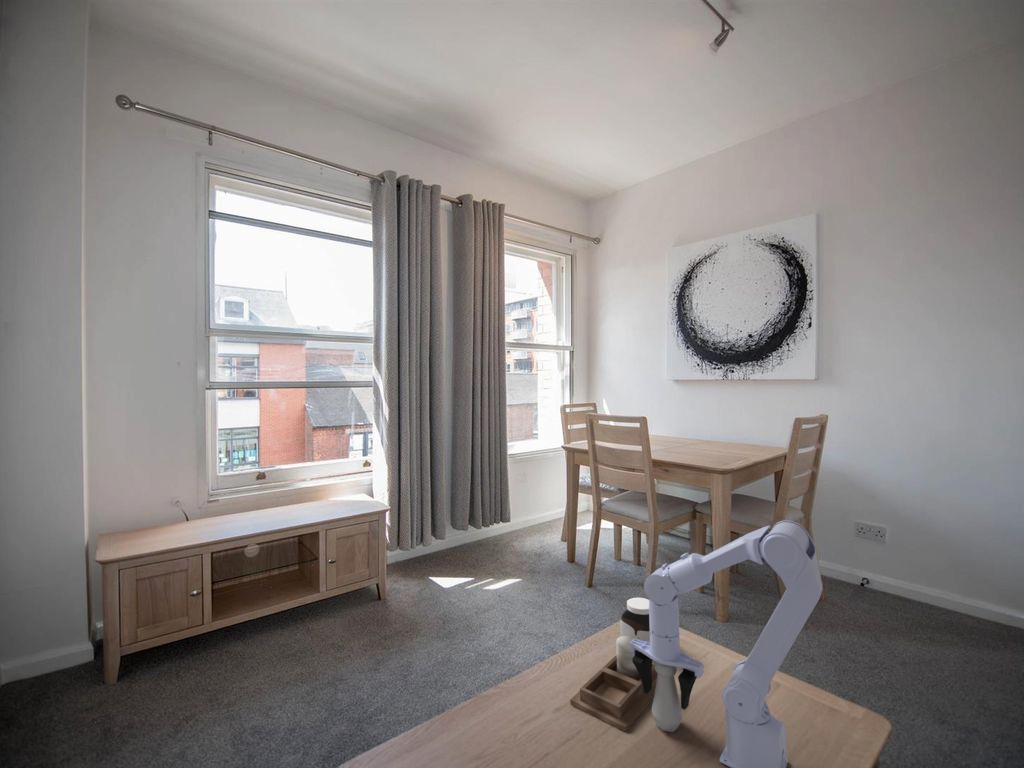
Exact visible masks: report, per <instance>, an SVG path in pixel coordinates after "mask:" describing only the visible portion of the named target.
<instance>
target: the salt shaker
mask: <svg viewBox="0 0 1024 768" xmlns="http://www.w3.org/2000/svg"><path fill="white" fill-rule="evenodd" d="M653 663H654V666H655V671H656V672H657V673H658V675H657V681H656V687H655V693H654V698H653V699H652V704H651V705H652V706H651V712H652V713H651V714H652V717H653V720H654V722H655V724H656V726H657V727H658V728H659V729H661V731H663V732H669V733H674V732H675V731H676V730H677V729H678V728H679V727H680V725H681V722H682V720H683V714H682V713H683V712H682V708H681V702H680V699H679V694H678V687H677V685H676V679H675V675H676V674H677V670H678V668H677V667H675V666H669V665H664V664H660V663H657V662H655V661H654V660H653Z"/></svg>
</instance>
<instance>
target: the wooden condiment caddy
mask: <svg viewBox="0 0 1024 768" xmlns="http://www.w3.org/2000/svg"><path fill="white" fill-rule="evenodd" d="M633 639H636V640H640V639H639V638H637V637H634V636H621V635H620V636H619V637H617V639H616V640H615V641H616V642H615V643H616V645H615V646H616V648H615V649H616V655H615V656H613V658H611V660H609V661H608V662H607V663H605V665H604V666H603V667H602V668H601V669H600V670H598V672H597V673H595V674H594V675H593V676H592V677H591V678H590V679H589V680H588V681H586V683H584V685H582V686H581V687H580V688H579V691H578V692H576V694H575V695H574V696H573V697H572V698H570V699H569V700H570V705H571V706H573V707H575V708H577V709H579V710H580V711H583V712H585V713H587V714H589V715H591V716H593V717H595V718H596V719H599V720H601V721H603V722H605V723H607V724H608V725H611V726H612V727H615V728H617V729H619V730H621V731H623V732H625V733H627V731H628V730H629V729H630V727H632V725H633V724H634V722H636V720H637V719H638V717H640V716H641V714H643V711H645V709H646V708H647V707H648V706H649V705H650V703H651V702H653V698H654V693H655V687H656V681H657V675H658V673H657V672H656V671H655V666H654V661H652V689H651V690H650V691H649V693H648V694H647V693H645V692H644V688H643V684H642V681H641V678H640V675H639V673H638V671H637V669H636V667H635V665H634V664H633V661H632V658H633V657H634V654H635V653H632V652H630V642H631V641H632V640H633ZM640 641H641V640H640Z"/></svg>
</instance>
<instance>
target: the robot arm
mask: <svg viewBox="0 0 1024 768" xmlns="http://www.w3.org/2000/svg"><path fill="white" fill-rule="evenodd" d="M770 527H771V525H766V526H763V527H761V528H759V529H756V530H753V531H751V532H748V533H746V534H744V535H743V536H741V537H738V538H736V539H734V540H733V541H731V542H729V543H727V544H726V545H723V546H720V547H719V548H717V549H715V550H713V551H711V552H710V553H708V554H706V555H702V554H700V553H697V552H692V553H689V552H685V553H683V554H681V555H680V559H678V560H676V561H674V562H672V563H669V564H668V563H667V562H666V563H664V564H662V565H661V567H659V568H657V569H656V570H655V571H654V572H652V573H651V574H650V575H648V577H647V578H646V579H645V580H644V583H643V590H644V594H645V595H646V597H647V599H648V600H649V625H650V642H646V641H640V640H636V639H633V640H632V641H631V642H630V652H632V653H635V654H634V657H633V658H632V661H633V664H634V665H635V667H636V669H637V671H638V673H639V675H640V678H641V681H642V684H643V688H644V692H645V693H647V694H648V693H649V691H650V690H651V689H652V662H654V661H655V662H657V663H660V664H664V665H669V666H675V667H677V669H680V670H682V671H681V672H680V674H679V675H678V676H677V680H678V683H679V689H680V690H679V691H680V708H681V710H683V711H685V710H686V709H688V706H689V704H690V698H691V695H692V694H691V693H692V691H693V688H694V685H695V682H696V681H697V679H701V677H702V676H703V675H704V672H705V671H704V663H703V662H701V661H698V660H696V659H694V658H692V657H691V656H689V655H688V654H686V653H684V652H682V651H681V647H680V646H681V645H680V642H681V641H680V639H681V638H680V609H679V595H684V594H686V593H689V592H692V591H694V590H697V589H699V588H701V587H703V586H705V585H707V584H710V583H711V582H712V580H713V575H714V573H717V572H718V571H722V570H724V569H726V568H729V567H733V566H734V565H736V564H739V563H742V562H744V561H747V560H750V561H752V562H755V563H757V564H759V565H764V563H765V562H766V563H767V564H768V565H769V566H770V568H772V570H773V571H774V572H775V573H776V574H777V575H778V576H779V577H780V578H781V579H780V580H781V581H782V583H783V585H784V587H785V591H784V593H783V595H782V596H781V599H780V600H779V601H778V604H777V605H776V606H775V607H776V608H775V609H774V611H773V612H772V614H771V616H770V618H769V620H768V621H767V623H766V625H765V627H764V628H763V630H762V632H761V634H760V635H759V637H758V639H757V640H756V642H755V644H754V645H753V648H752V650H751V651H750V653H749V654H748V656H747V658H746V659H745V660H742V661H740V662H738V663H737V664H736V665H735V666H734V669H733V672H732V675H731V677H730V678H729V680H728V683H727V684H726V685H725V686H724V687H723V689H722V693H721V700H722V703H723V707H724V708H725V722H726V723H725V725H726V726H725V727H726V745H725V747H724V749H723V751H722V752H721V754H720V757H719V762H720V763H721V764H723V765H725V766H727V767H728V768H787V766H788V762H789V760H788V757H787V755H788V753H787V752H788V750H787V729H786V724H785V722H783V721H781V720H780V719H778V718H777V717H775V716H774V715H772V714H771V710H770V708H769V706H768V704H767V701H766V700H767V696H768V695H769V693H770V692H771V689H772V685H771V683H772V681H773V679H774V677H775V674H777V672H778V670H779V669H780V667H781V665H782V663H783V661H784V660H785V658H786V656H787V654H788V653H789V651H790V650H791V647H792V646H793V645H794V643H795V641H796V639H797V638H798V636H799V634H800V633H801V631H802V629H803V627H804V626H805V624H806V623H807V620H808V619H809V617H810V616H811V614H812V612H813V610H814V609H815V607H816V606H817V603H818V602H819V600H820V598H821V595H822V593H823V582H822V577H821V571H820V567H819V560H818V556H817V545H816V544H815V542H814V540H813V539H812V537H811V536H810V534H809V532H808V530H807V529H806V528H805V527H804V526H803V525H802V524H800V523H798V522H795V521H793V520H787V519H786V520H781V521H778V522H776V523H775V524H774V525H773V526H772V527H771V529H770ZM769 529H770V531H769Z"/></svg>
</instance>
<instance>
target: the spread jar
mask: <svg viewBox="0 0 1024 768" xmlns="http://www.w3.org/2000/svg"><path fill="white" fill-rule="evenodd" d="M619 626H620V637H621V636H634V637H637V638H639V639H640V640H641V641H646V642H650V625H649V598H644V597H632V598H630V599H628V600H626V609H625V610H623V612H622V613H621V615H620V625H619Z"/></svg>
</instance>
